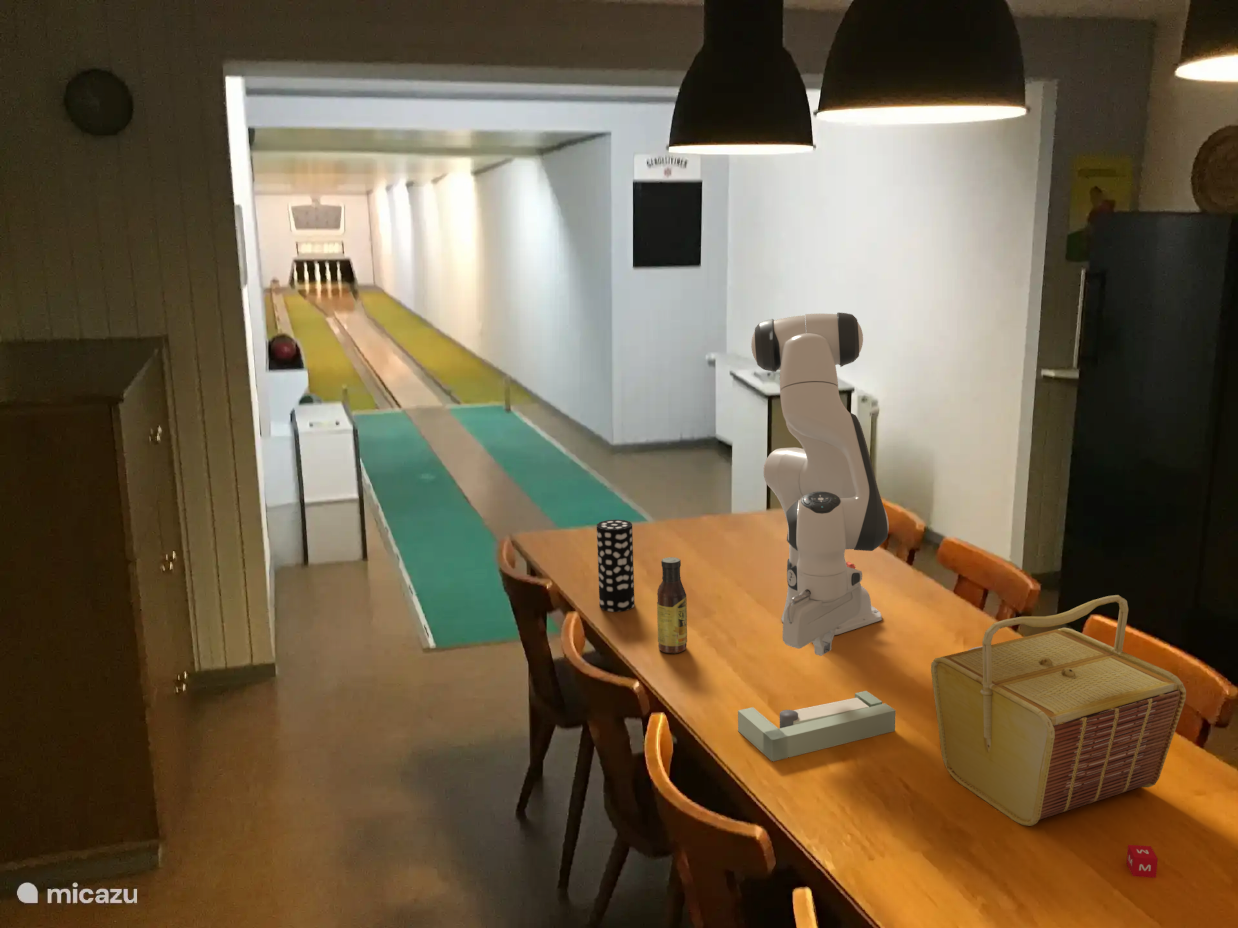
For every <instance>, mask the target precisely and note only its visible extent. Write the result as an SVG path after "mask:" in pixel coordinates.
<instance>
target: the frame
mask: <svg viewBox="0 0 1238 928" xmlns="http://www.w3.org/2000/svg"><path fill="white" fill-rule="evenodd" d="M854 698H858V699H860V700H861V701H862V702H864V703H865V704H866V705H868V706H869V707H868V708H864V709H859V710H855V711H851V712H847V713H843V714H838V715H834V716H830V717H826V718H822V719H817V720H813V721H809V722H805V723H801V724H796V725H792V726H788V727H784V728H780V727H777V726H776V725H775V724H774V723H773V722H771V720H769V719H767V717H765V716H764V715H763V714H762V713H760V712H759V711H758V710H757V709H756V708H755V707H754V706H752V707H748V708H743V709H739V710H737V731H738V732H739V733H740V734H741V735H742V736H743V737H744V738H745V739H746V740H747V741H749V742H750V744H752V745H753V746H754V747H755V748H757V749H758V750H759V751H760V752H761V753H762V754H763V755H764V756H765V757H766V758H768V759H769V761H770V762H772V761H773V762H776V761H780V760H785V759H789V758H792V757H797V756H800V755H804V754H807V753H811V752H816V751H821V750H824V749H828V748H832V747H836V746H839V745H844V744H847V743H848V744H849V743H852V742H857V741H861V740H863V739H868V738H871V737H876V736H881V735H884V734H889V733H892V732H895V731H896V716H897V715H896V709H895V708H893V707H891V706H890V705H888V704H887V703H886V702H885V703H883V701H882V700H881V699H879V698H878V697H876V696H875V695H873V694H872V693H870V692H868V691H867V690H864V691H860V692H855V693H854ZM788 757H789V758H788Z"/></svg>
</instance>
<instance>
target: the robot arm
mask: <svg viewBox="0 0 1238 928" xmlns="http://www.w3.org/2000/svg"><path fill="white" fill-rule="evenodd" d="M750 343H751V346H750V347H751V352H752V356H753V358H754V360H755V362H756V364H757V366H758V367H760V368H761V369H763V370H764V371H768V372H776V373H777V371H780V373H779V396H780V397H779V398H780V405H781V411H782V416H783V419H784V421H785V425H786V427H787V430H788V432H789V433H790V434H791V435H792V436H793V437H794V438H796V440H797V441H798V442H799V444H800V445H801V447H802V448H800V447H781V448H780V447H779V448H776V449H775V450H773V451H772V452H770V453H769V455H768V456H767V458H766V460H765V462H764V465H763V466H764V467H763V477H764V478H763V479H764V482H765V484H766V485H767V486H768V487H769V488H770V489H771V491H772V492H773V493H774V494H775V496H776V497H777V500H778V501H779V504H780V505H781V508H782V510H783V512H784V513H783V514H784V516H785V518H786V523H787V536H786V542H787V543H788V546H789V547H788V554H789V555H788V556H789V557H788V559H787V562H786V581H787V591H786V592H787V594H786V599H785V605H784V609H783V611H782V615H781V623H782V641H783V643H784V644H785V645H786V646H789V647H791V648H795V649H802V648H803V647H805V646H807V645H810V643H812V645H813V646H814V648H813V650H814V651H813V652H814V654H815V655H817V656H820V657H822V656H823V655H825V654H827V653H829V652H830V651H832V642H833V640H834V637H835V636H837V635H841V634H843V633H847V632H850V631H853V630H855V629H860V628H862V627H865V626H868V625H871V624H873V623H877V622H880V621H882V619H883V618H882V612H881V611H879V610H878V609H877V608H876V607H874V606H873V605H872V602H871V597H870V594H869V591H868V590H867V589H866V588H865V587H864V586H863V585H861V582H862V581H863V572H862V570H859V569H856V565H855V564H854V563H852V562H850V561H846V557H845V554H846V553H845V552H846V550H854V551H863V552H864V551H866V552H867V551H868V552H873V551H874V550H876V549H877V548H879V547H880V546H881V545H882V544H883V543H884V542H885V541H886V540H887V539H888V537H889V536H888V535H889V528H890V525H889V517H888V513H887V511H886V508H885V506H884V504H883V501H882V498H881V493H880V491H879V490H880V489H879V487H878V484H877V480H876V476H875V472H874V468H873V464H872V460H871V456H870V452H869V447H868V445H867V442H866V438H865V434H864V431H863V428H862V425H861V423H860V420H859V418H858V417H857V415H856V414H854V413H852V412H849V411H848V409H847V408H846V406H845V405H844V403H843V401H842V399H841V397H840V392H839V381H838V373H837V368H836V365H839V366H840V368H842V367H844V366H846V365H849V364H852V363H854V362H855V361H856V360H857V359H858V358H859V357H860V352H861V351H862V348H863V343H864V333H863V331H862V327H861V324H859V321H858V319H857V317H856V316H855V315H853V314H852V313H847V312H836V313H805V314H804V315H796V316H795V315H794V316H787V317H783V318H778V319H773V318H771V319H767V320H764V321H761V322H759V323H758V324H757V325H756V326H755V327H754V332H753V335H752V338H751V342H750Z"/></svg>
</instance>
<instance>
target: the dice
mask: <svg viewBox="0 0 1238 928" xmlns="http://www.w3.org/2000/svg"><path fill="white" fill-rule="evenodd" d="M1126 853H1127V854H1126V866H1127V868H1128V870H1129V872H1130V874H1131V877H1143V878H1155V879H1156V878H1157V872H1158V871H1157V869H1158V860H1159V859H1158V857H1157V855H1156V853H1155V850H1154V849H1153V848H1152V845H1137V844H1136V845H1135V844H1127V852H1126Z"/></svg>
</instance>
